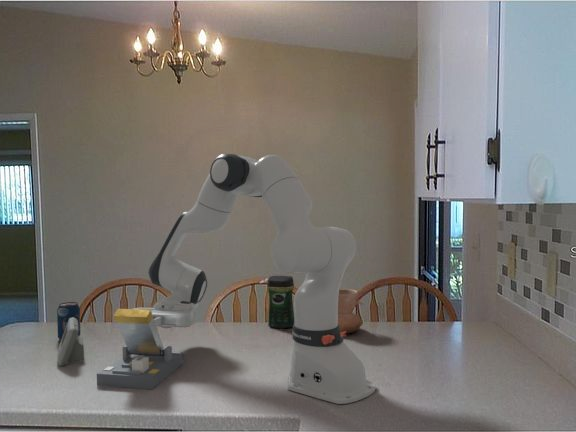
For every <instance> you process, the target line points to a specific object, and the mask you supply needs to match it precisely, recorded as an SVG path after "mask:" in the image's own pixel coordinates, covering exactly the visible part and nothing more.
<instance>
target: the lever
mask: <svg viewBox="0 0 576 432" xmlns="http://www.w3.org/2000/svg"><path fill="white" fill-rule="evenodd" d="M113 318H114V319H113V320H114V321H115V323H116V324H117V326H118V329H119V331H120V334H121V336H122V339H123V342H124V343H125V345H126V346H127V348H128V350H129V354H130V355H148V356H165V354H164V349H165V348H164V344H163V342H162V340H161V336H160V332H159V331H158V328H157V326H156V325H155V322H154V319H153V315H152V312H151V310H141V309H133V308H117V310H116V311H115V312H114V314H113Z"/></svg>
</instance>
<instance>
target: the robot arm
mask: <svg viewBox="0 0 576 432" xmlns="http://www.w3.org/2000/svg"><path fill="white" fill-rule="evenodd" d="M240 196H247V197H254V198H263V201H264V203H265V205H266V207H267V208H268V211H269V213H270V215H271V216H272V218H273V220H274V224H275V228H276V236H274V237H275V238H274V239H273V241H272V243H271V248H270V256H271V260H272V262H273V264H274V266H275V267H276V268H277V269H278V270H279V271H280V272H282V273H288V274H297V275H300V274H306V275H305V279H304V281H303V283H302V284H301V285H300V286H299V288H298V289H297V290H296V292H295V294H294V297H293V310H294V325H293V327H292V331H291V332H292V340H293V349H292V354H291V355H292V356H291V364H290V372H289V376H288V384H287V390H289V391H291V392H294V393H298V394H302V395H305V396H309V397H313V398H315V399H319V400H323V401H327V402H330V403H333V404H337V405H345V404H351V403H353V402H354V403H355V402H359V401H361V400H363V399H365V398H367V397H370V396H371V395H372V394H374V392H375V391H376V389H377V387H376V383H375V382H372V381H370V380H368V379H367V375H366V368H365V365H364V363H363V362H362V360H361V359H360V358H359V357H358V356H357V355H356V354H355V353H354V352H353V350H351V349H350V347H349V346H348V345H347V344H346V342H345V341H344V337H345V336H347V334H345V333H346V331H344V332H341V329H340V327H339V325H338V295H339V289H341V284H342V282H343V281H342V280H343V278H344V276H345V275H344V274H345V272H346V269H347V267H348V266H349V264H350V263H351V262H352V260H353V259H354V258H355V256H356V253H357V242H356V239H355V237H354V235H353V233H351V231H349V230H348V229H345V228H340V227H337V226H318V227H316V226H314V224H312V222H311V220H310V217H309V216H310V214H311V212H312V209H313V201H312V199H311V197H310V195H309V194H308V192H307V190H306V189H305V187H304V185H303V184H302V182H301V180H300V179H299V177H298V176H297V174H296V172H295V171H294V170H293V168H292V167H291V166H290V165H289V164H288V163H287V161H285V160H284V158H283V157H282V156H279V155H277V154H268V155H264V156H262V157H261V158H260V159H259V160H257V159H254V158H252V157H249V156H245V155H237V154H235V153H222V154H220V155H218V156H216V158H214V160H213V162H212V163H211V166H210V169H209V174H208V175H207V177H206V179H205V181H204V182H203V185H202V187H201V189H200V191H199V194H198V197H197V199H196V202H195V204H194V205H193V206H192V208H190V210H188V211H184V212H183V213H181V214H180V216H179V217H178V219H176V221H175V223H174V224H173V226H172V228H171V229H170V232H169V234H168V236H167V237H166V239H165V241H164V243H163V245H162V247H161V248H160V250H159V252H158V254H157V255H156V257H155V258H154V260H153V261H152V263H151V265H150V266H149V268H148V272H147V273H148V277H149V279H150V281H151V284H153V285H155V286H157V287H160V288H164V289H166V290H169V291H171V292H173V293H172V294H170V295H167V296H166V297H164V298H161V299H160V300H158V301H156V302H155V303H154V305H153V307H134V308H132V309H141V310H151V312H152V315H153V319H154V322H155V325H156V327H160V328H162V329H170V328H173V327H174V328H190V327H191V326H193V325H195V323H196V322H195V321H196V310H197V308H198V306H199V303H200V302H201V301H202V299H203V297H204V296H205V293H206V291H207V287H208V280H207V275H206V273H205V271H204V270H203V269H202V270H201V269H200V268H197V267H195V266H194V265H191V264H189V263H186V262H183V261H182V260H179V259H177V258H176V254H177V251H178V250H179V248H180V247H181V244H182V242H183V241H184V239H185V237H186V236H187V235H188V234H211V233H215V232H219V231H221V230H222V229H223V228H225V227H226V225H227V224H228V222H229V219H230V217H231V215H232V212H233V208H234V206H235V203H236V200H237V198H238V197H240Z"/></svg>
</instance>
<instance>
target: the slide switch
mask: <svg viewBox="0 0 576 432" xmlns="http://www.w3.org/2000/svg"><path fill="white" fill-rule="evenodd" d="M148 369H149V357H144V355H141V356H140V357H136V358H135V359H133V360H132V371H140V372H142V373H144V372H145V371H146V370H148Z"/></svg>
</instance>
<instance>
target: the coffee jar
mask: <svg viewBox="0 0 576 432" xmlns="http://www.w3.org/2000/svg"><path fill="white" fill-rule="evenodd" d="M266 287H267V291H268V297H269V299H268V301H269V302H268V304H269V305H268V314H267V315H268V319H267V324H268V327H270V328H275V329H289V328H293V325H294V300H293V291H294V289H295V282H294V278H293V276H291V275H271V276H269V277H268V280H267V286H266Z"/></svg>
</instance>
